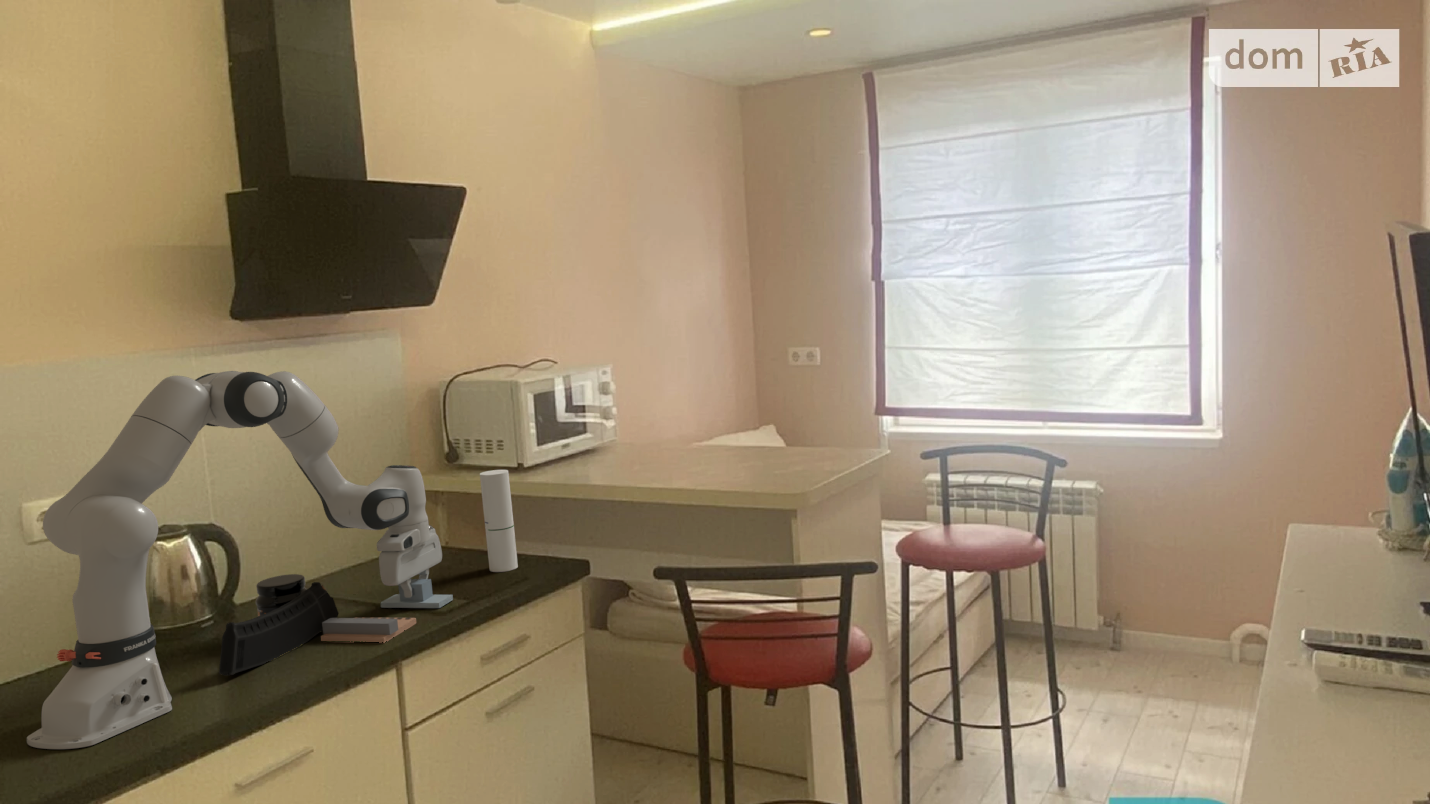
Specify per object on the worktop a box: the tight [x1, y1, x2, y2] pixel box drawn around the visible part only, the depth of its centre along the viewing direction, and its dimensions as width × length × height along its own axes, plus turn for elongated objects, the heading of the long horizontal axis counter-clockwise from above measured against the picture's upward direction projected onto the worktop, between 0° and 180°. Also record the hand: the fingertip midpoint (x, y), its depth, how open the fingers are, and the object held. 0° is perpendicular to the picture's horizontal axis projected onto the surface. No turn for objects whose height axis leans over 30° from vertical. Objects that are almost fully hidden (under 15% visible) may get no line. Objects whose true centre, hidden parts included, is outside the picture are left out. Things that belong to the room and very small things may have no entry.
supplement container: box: [255, 573, 308, 617], centre depth 212 cm, size 10×10×12 cm
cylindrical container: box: [479, 469, 519, 573], centre depth 252 cm, size 7×7×25 cm
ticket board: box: [320, 616, 417, 644], centre depth 209 cm, size 12×16×4 cm
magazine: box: [218, 581, 339, 676], centre depth 200 cm, size 17×3×30 cm
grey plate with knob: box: [380, 578, 454, 609], centre depth 227 cm, size 6×15×5 cm, turn 75°
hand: (416, 593), depth 227 cm, fingers closed on grey plate with knob, 4 cm apart
